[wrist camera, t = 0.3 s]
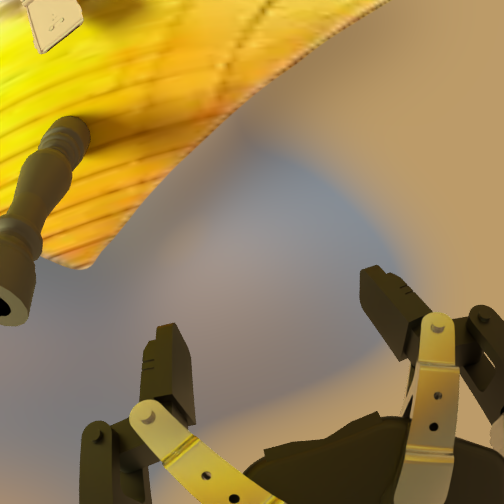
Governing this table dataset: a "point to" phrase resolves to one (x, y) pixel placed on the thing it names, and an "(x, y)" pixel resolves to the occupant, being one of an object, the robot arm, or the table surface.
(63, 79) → the table surface
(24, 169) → the candle holder
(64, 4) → the mobile phone
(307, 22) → the table surface
